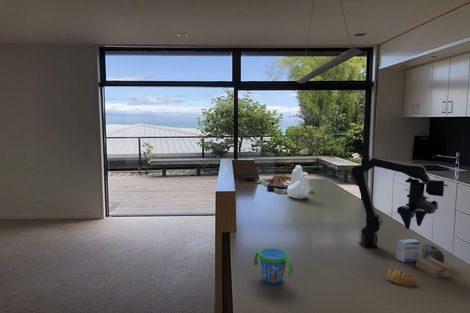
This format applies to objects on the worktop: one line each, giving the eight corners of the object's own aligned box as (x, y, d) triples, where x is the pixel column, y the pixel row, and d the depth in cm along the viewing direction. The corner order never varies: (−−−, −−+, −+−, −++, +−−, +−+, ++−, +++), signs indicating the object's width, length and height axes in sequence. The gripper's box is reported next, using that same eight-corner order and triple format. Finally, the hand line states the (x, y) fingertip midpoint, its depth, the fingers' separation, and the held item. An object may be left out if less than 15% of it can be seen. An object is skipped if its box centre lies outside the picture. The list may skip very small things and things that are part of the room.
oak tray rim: (276, 193, 277) (277, 190, 276) (258, 182, 327) (259, 178, 327) (314, 192, 283) (314, 189, 283) (290, 181, 334) (290, 178, 334)
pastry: (416, 282, 129) (417, 272, 128) (413, 289, 123) (414, 279, 123) (389, 275, 134) (390, 265, 134) (385, 281, 129) (386, 271, 129)
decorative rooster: (285, 194, 274) (286, 163, 271) (304, 195, 274) (306, 164, 272) (291, 202, 249) (293, 168, 246) (313, 202, 249) (314, 168, 247)
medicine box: (403, 262, 146) (405, 243, 145) (395, 258, 150) (397, 239, 149) (418, 261, 148) (420, 241, 147) (410, 257, 152) (412, 238, 151)
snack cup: (247, 277, 129) (247, 251, 128) (264, 268, 137) (265, 244, 136) (281, 292, 119) (282, 263, 118) (298, 282, 126) (299, 255, 125)
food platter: (297, 193, 281) (298, 180, 280) (267, 190, 286) (268, 178, 285) (299, 182, 324) (300, 171, 323) (273, 180, 330) (274, 169, 328)
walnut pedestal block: (434, 278, 132) (435, 268, 132) (415, 267, 142) (416, 258, 142) (449, 277, 134) (450, 267, 133) (430, 266, 144) (431, 257, 143)
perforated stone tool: (417, 253, 157) (418, 239, 156) (429, 254, 156) (431, 239, 155) (431, 267, 142) (432, 251, 141) (444, 268, 141) (446, 252, 141)
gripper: (423, 199, 141) (420, 236, 142) (446, 194, 151) (442, 229, 153) (397, 193, 150) (394, 228, 151) (420, 190, 160) (417, 222, 162)
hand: (413, 227), depth 154 cm, fingers open, 9 cm apart
